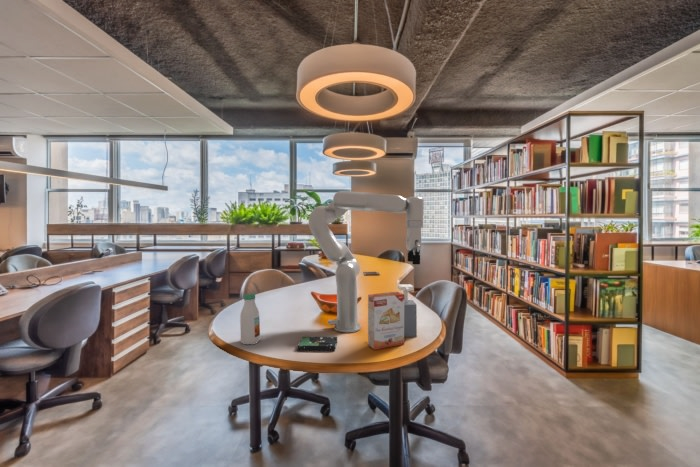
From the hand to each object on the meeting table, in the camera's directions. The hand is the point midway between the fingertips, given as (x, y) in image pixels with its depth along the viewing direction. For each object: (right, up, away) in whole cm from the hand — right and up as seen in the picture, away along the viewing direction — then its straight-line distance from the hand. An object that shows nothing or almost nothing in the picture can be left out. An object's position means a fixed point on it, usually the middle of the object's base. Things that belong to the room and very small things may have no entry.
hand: (413, 262), depth 141 cm
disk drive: (-41, -33, -14) cm, 55 cm away
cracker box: (-14, -32, -14) cm, 38 cm away
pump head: (-4, -23, -3) cm, 23 cm away
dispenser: (-4, -32, -1) cm, 32 cm away
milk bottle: (-71, -33, -9) cm, 78 cm away
